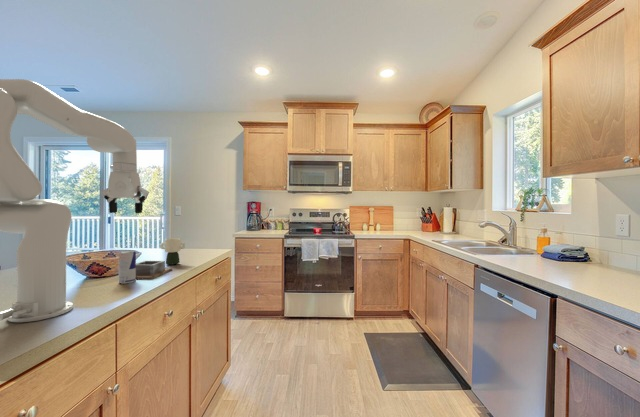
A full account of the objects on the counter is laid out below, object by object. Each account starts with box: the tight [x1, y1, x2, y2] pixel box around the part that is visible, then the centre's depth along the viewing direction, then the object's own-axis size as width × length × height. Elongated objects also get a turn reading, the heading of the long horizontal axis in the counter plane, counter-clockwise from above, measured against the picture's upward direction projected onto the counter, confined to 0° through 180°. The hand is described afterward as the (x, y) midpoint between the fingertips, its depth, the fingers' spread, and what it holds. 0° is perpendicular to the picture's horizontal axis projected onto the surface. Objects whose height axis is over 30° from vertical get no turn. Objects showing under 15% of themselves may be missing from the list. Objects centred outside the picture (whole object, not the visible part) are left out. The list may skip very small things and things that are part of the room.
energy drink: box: [118, 250, 137, 285], centre depth 106 cm, size 5×5×12 cm
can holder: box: [136, 260, 173, 280], centre depth 118 cm, size 16×12×5 cm
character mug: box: [160, 237, 186, 265], centre depth 138 cm, size 11×7×13 cm, turn 104°
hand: (126, 212), depth 105 cm, fingers open, 9 cm apart
